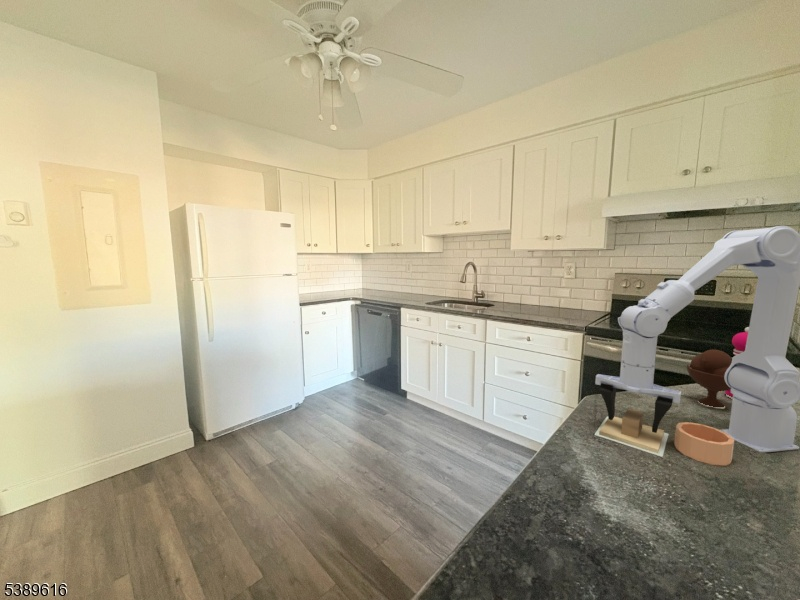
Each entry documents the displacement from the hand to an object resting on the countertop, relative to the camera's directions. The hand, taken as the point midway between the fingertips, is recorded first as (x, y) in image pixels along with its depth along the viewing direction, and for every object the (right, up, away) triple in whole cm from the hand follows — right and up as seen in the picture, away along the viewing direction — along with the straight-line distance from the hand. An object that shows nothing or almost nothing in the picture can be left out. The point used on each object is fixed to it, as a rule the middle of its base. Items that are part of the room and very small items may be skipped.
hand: (632, 424), depth 69 cm
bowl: (+9, -3, -6) cm, 11 cm away
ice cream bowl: (+32, -1, +15) cm, 35 cm away
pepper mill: (+43, 0, +19) cm, 47 cm away
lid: (0, -2, 0) cm, 2 cm away
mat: (0, -3, 0) cm, 3 cm away
